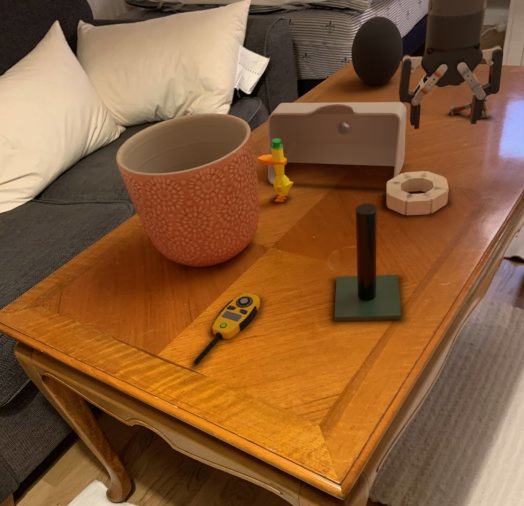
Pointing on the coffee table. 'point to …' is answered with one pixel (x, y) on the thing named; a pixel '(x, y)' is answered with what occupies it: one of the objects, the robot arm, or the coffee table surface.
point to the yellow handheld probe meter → (233, 319)
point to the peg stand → (367, 278)
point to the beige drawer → (340, 133)
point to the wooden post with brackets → (467, 106)
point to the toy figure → (278, 169)
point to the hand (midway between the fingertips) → (444, 124)
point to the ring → (417, 203)
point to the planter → (194, 186)
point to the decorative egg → (377, 51)
